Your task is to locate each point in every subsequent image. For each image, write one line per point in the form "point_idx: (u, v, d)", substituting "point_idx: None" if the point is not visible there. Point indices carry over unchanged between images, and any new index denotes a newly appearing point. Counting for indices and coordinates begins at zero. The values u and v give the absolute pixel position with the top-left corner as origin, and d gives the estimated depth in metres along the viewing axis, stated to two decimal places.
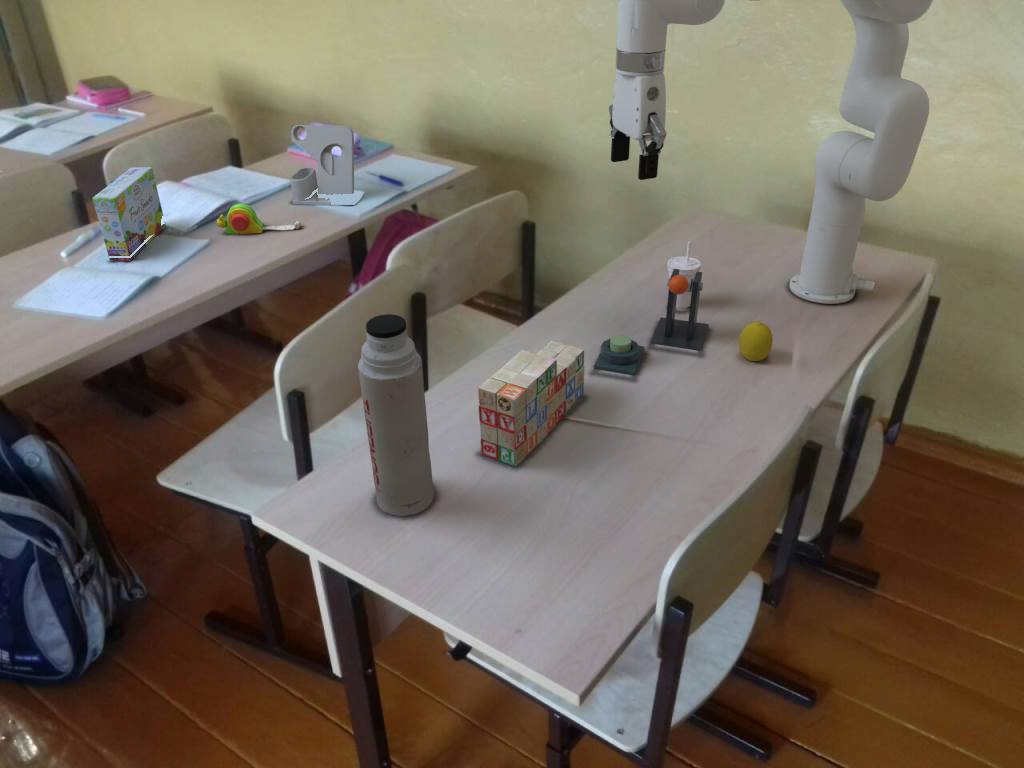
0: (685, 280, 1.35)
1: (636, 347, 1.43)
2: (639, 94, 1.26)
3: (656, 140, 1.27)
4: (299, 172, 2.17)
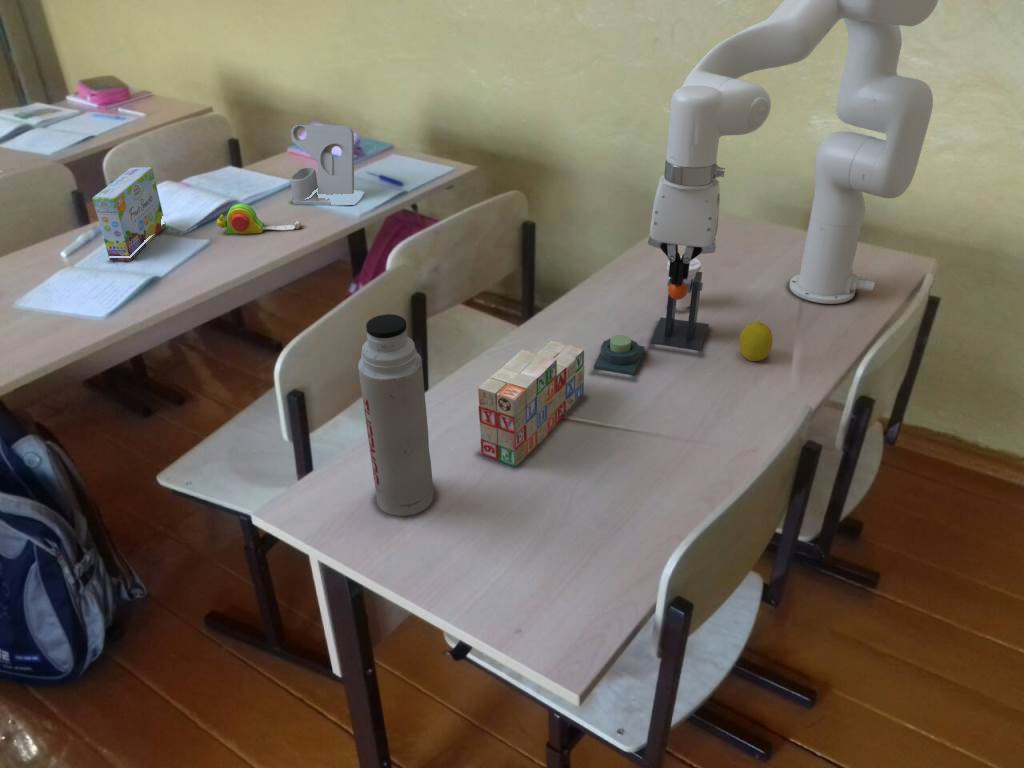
0: (684, 286, 1.35)
1: (636, 347, 1.43)
2: (712, 204, 1.25)
3: (705, 251, 1.31)
4: (299, 172, 2.17)
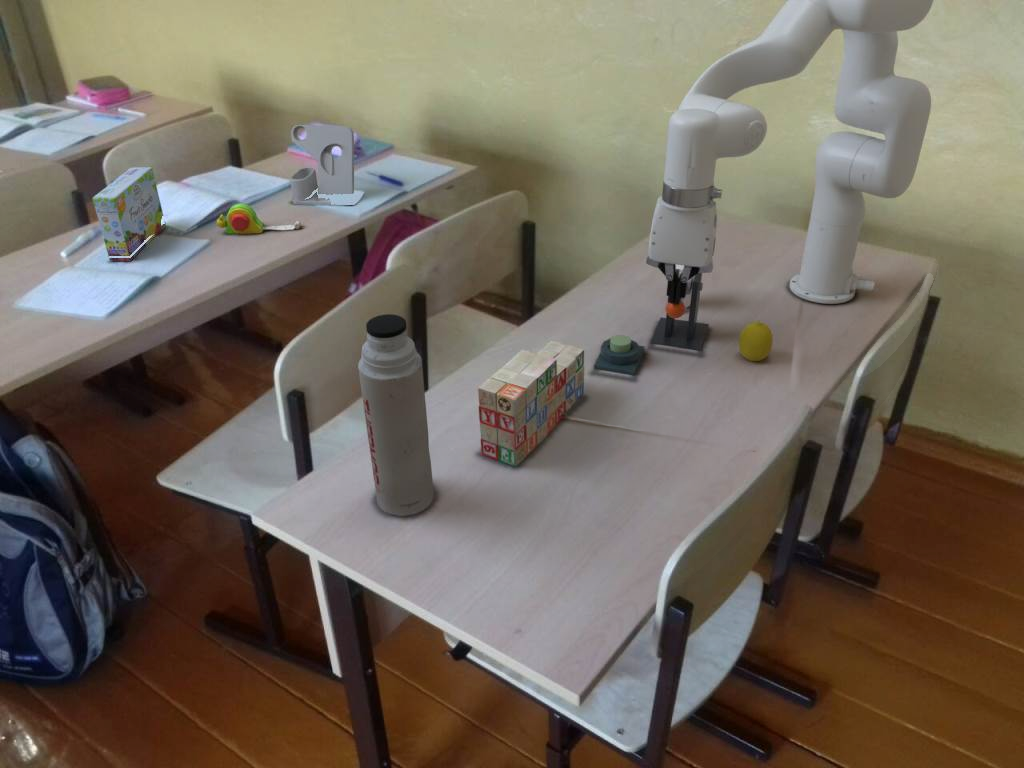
0: (681, 306, 1.36)
1: (636, 347, 1.43)
2: (709, 225, 1.26)
3: (702, 271, 1.32)
4: (299, 172, 2.17)
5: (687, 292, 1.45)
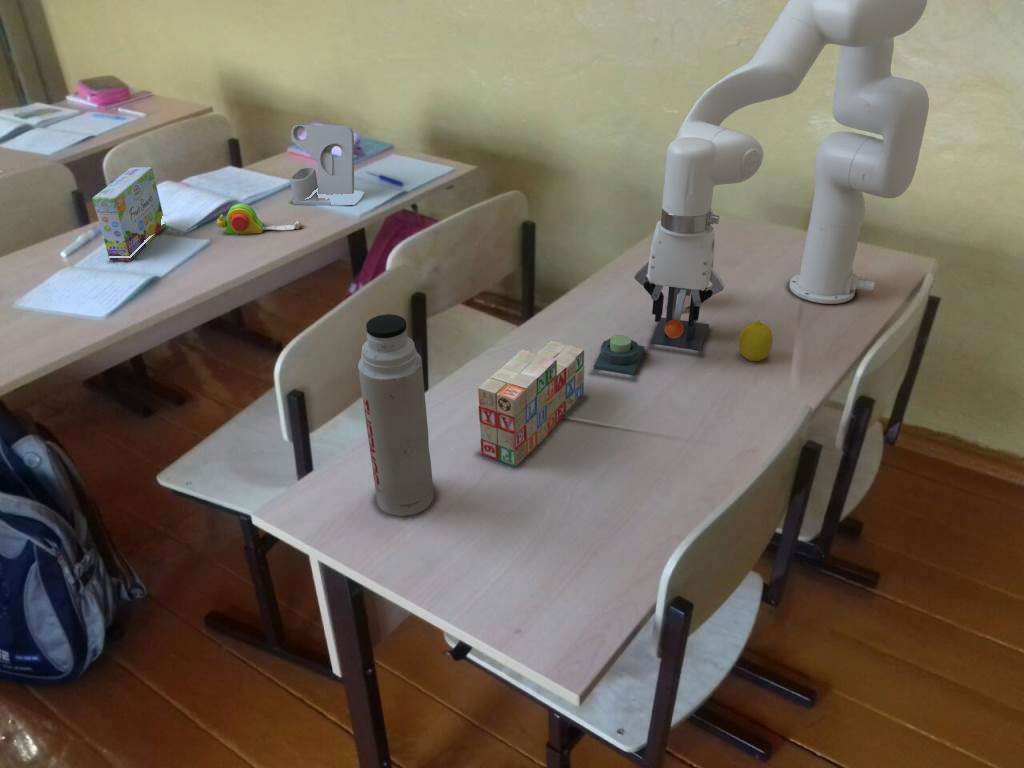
0: (679, 330, 1.39)
1: (636, 347, 1.43)
2: (707, 250, 1.29)
3: (715, 292, 1.34)
4: (299, 172, 2.17)
5: (687, 294, 1.45)
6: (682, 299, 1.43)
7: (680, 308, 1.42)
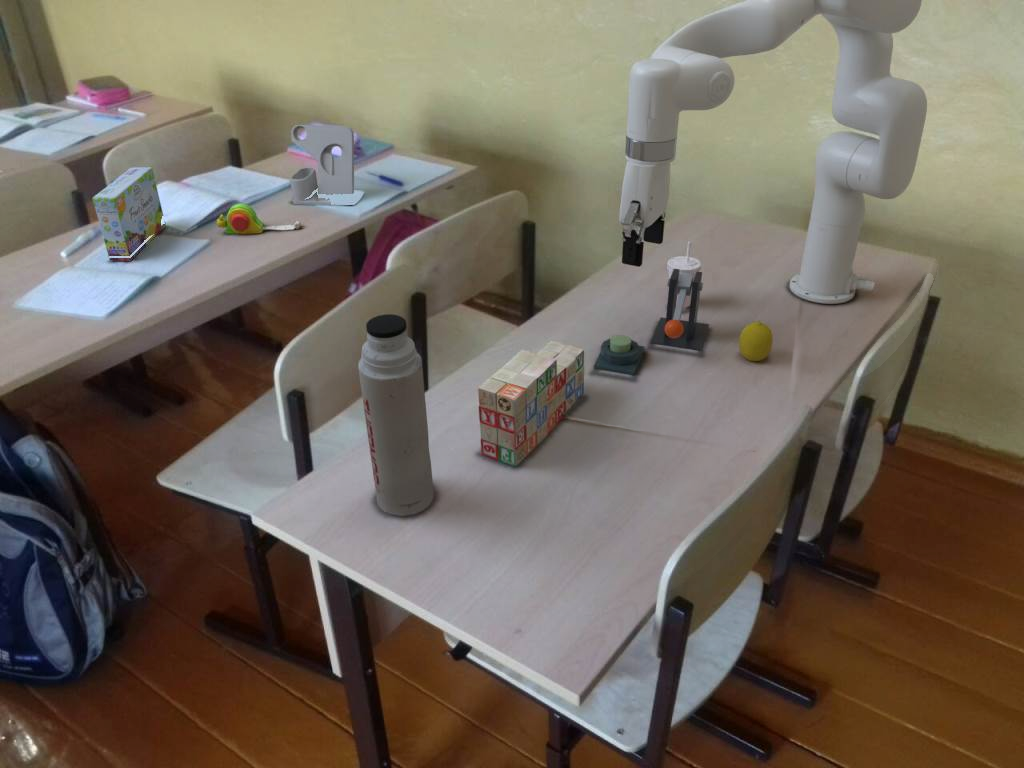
0: (679, 330, 1.39)
1: (636, 347, 1.43)
2: None
3: None
4: (299, 172, 2.17)
5: (687, 294, 1.45)
6: (682, 299, 1.43)
7: (680, 308, 1.42)
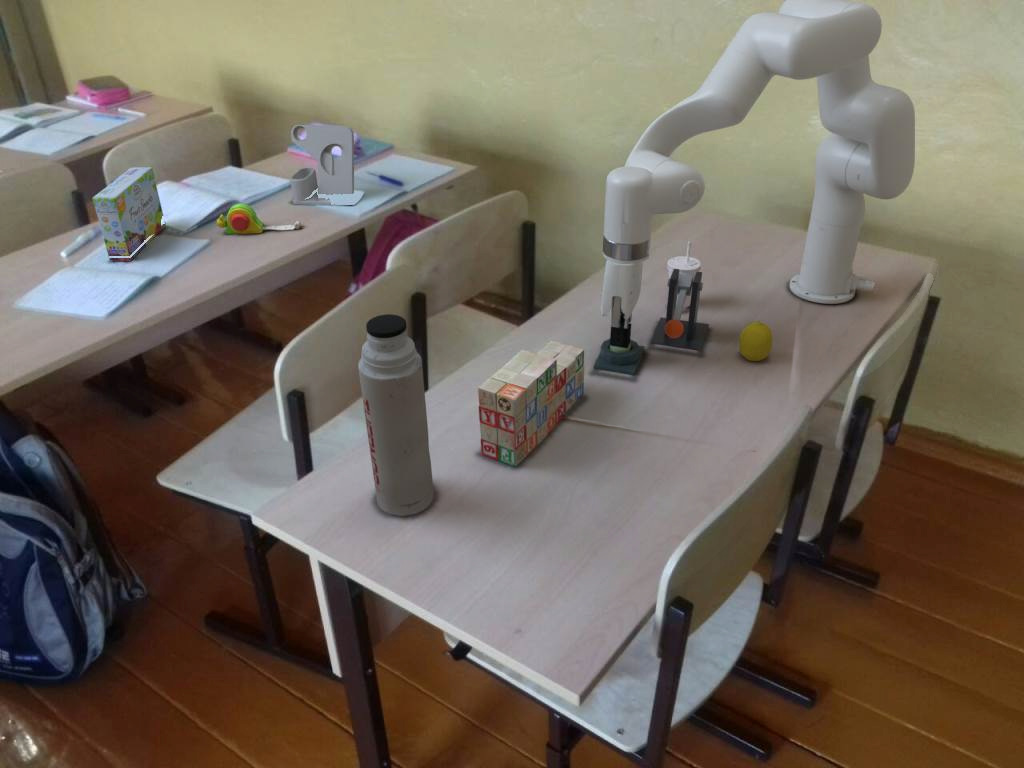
0: (679, 330, 1.39)
1: (636, 347, 1.43)
2: None
3: None
4: (299, 172, 2.17)
5: (687, 294, 1.45)
6: (682, 299, 1.43)
7: (680, 308, 1.42)
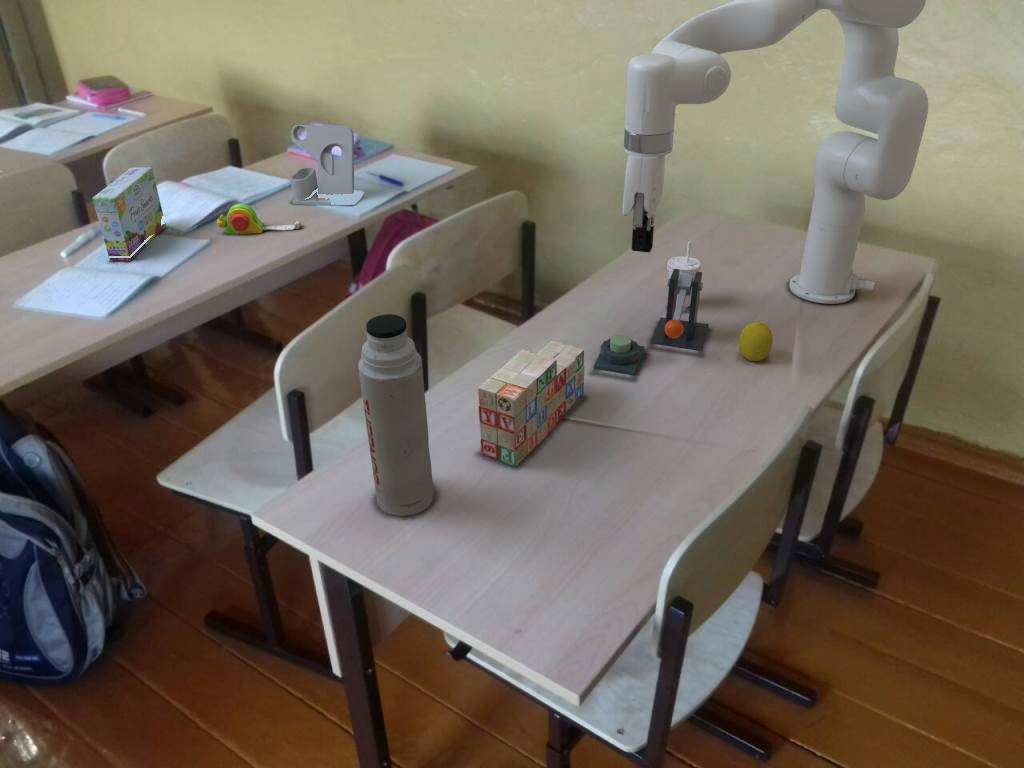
0: (679, 330, 1.39)
1: (636, 347, 1.43)
2: None
3: None
4: (299, 172, 2.17)
5: (687, 294, 1.45)
6: (682, 299, 1.43)
7: (680, 308, 1.42)
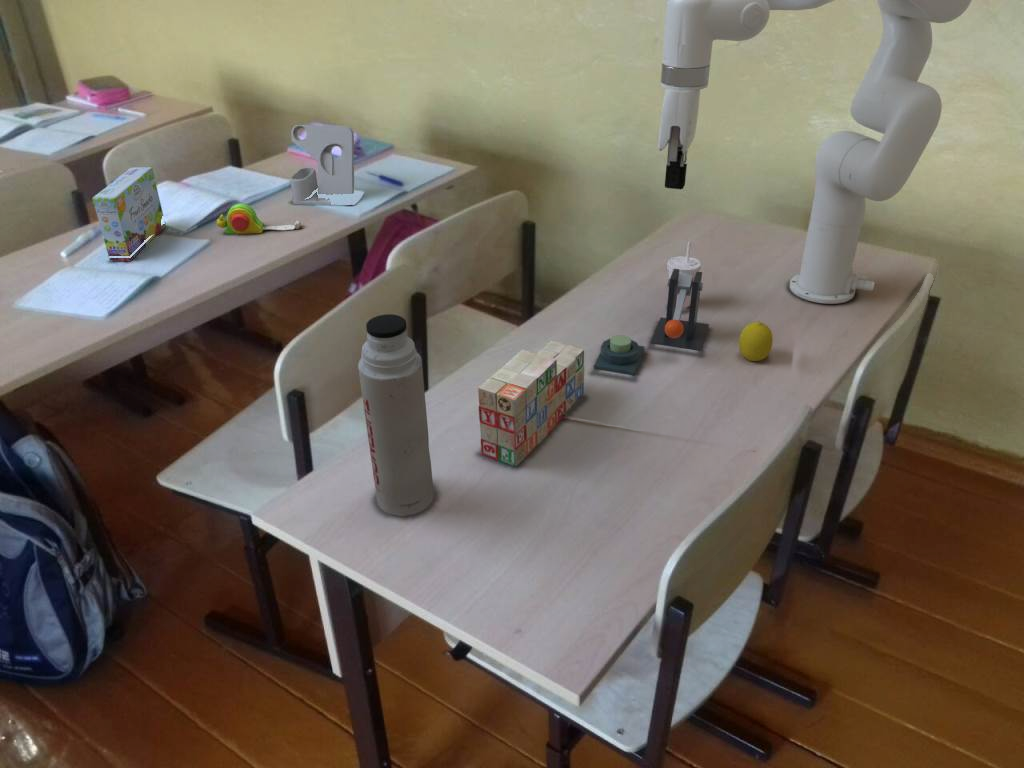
0: (679, 330, 1.39)
1: (636, 347, 1.43)
2: None
3: None
4: (299, 172, 2.17)
5: (687, 294, 1.45)
6: (682, 299, 1.43)
7: (680, 308, 1.42)
